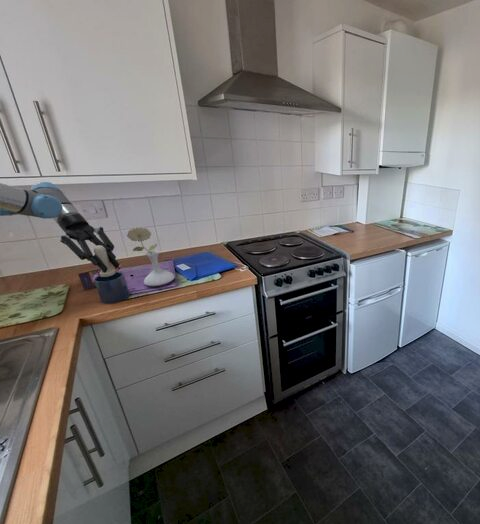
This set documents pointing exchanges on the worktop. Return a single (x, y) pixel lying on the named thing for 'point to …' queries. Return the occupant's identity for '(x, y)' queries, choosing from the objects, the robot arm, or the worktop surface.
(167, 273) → the flower in vase
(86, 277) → the purple printed box
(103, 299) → the cup
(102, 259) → the game piece
